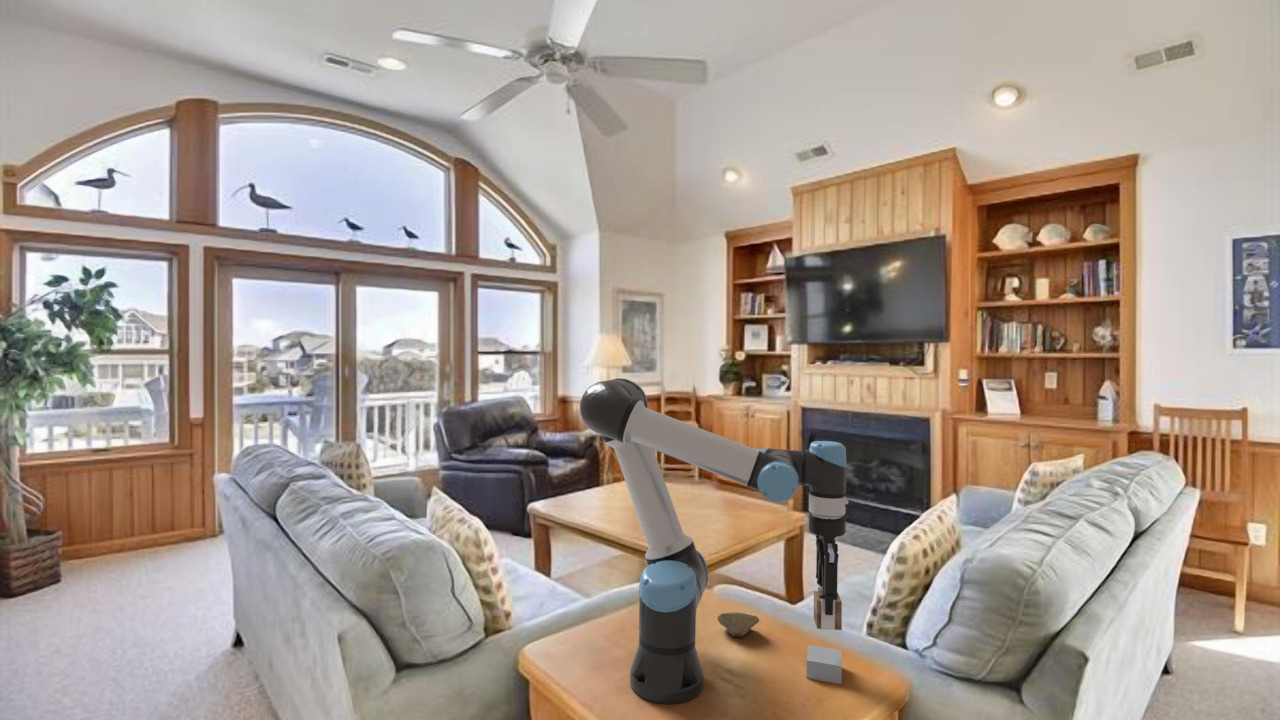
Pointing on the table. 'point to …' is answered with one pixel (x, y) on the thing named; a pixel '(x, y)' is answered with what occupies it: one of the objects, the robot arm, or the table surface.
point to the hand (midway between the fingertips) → (825, 622)
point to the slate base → (824, 664)
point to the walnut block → (818, 611)
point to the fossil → (737, 622)
